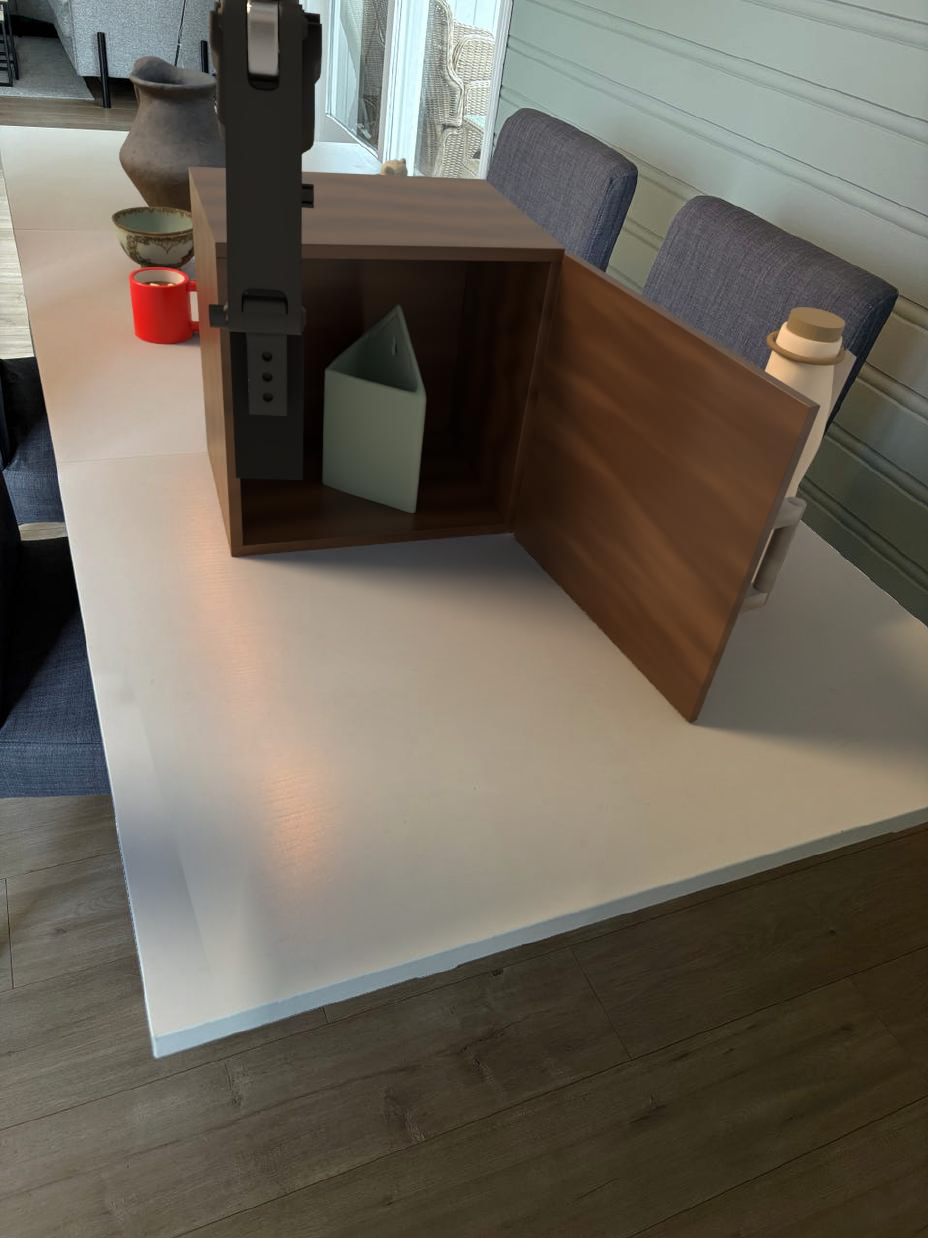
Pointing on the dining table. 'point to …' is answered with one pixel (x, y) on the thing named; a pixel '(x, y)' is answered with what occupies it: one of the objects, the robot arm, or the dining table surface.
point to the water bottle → (810, 372)
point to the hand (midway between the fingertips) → (272, 400)
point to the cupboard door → (658, 479)
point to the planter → (375, 417)
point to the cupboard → (440, 335)
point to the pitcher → (170, 132)
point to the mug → (162, 305)
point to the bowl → (156, 236)
